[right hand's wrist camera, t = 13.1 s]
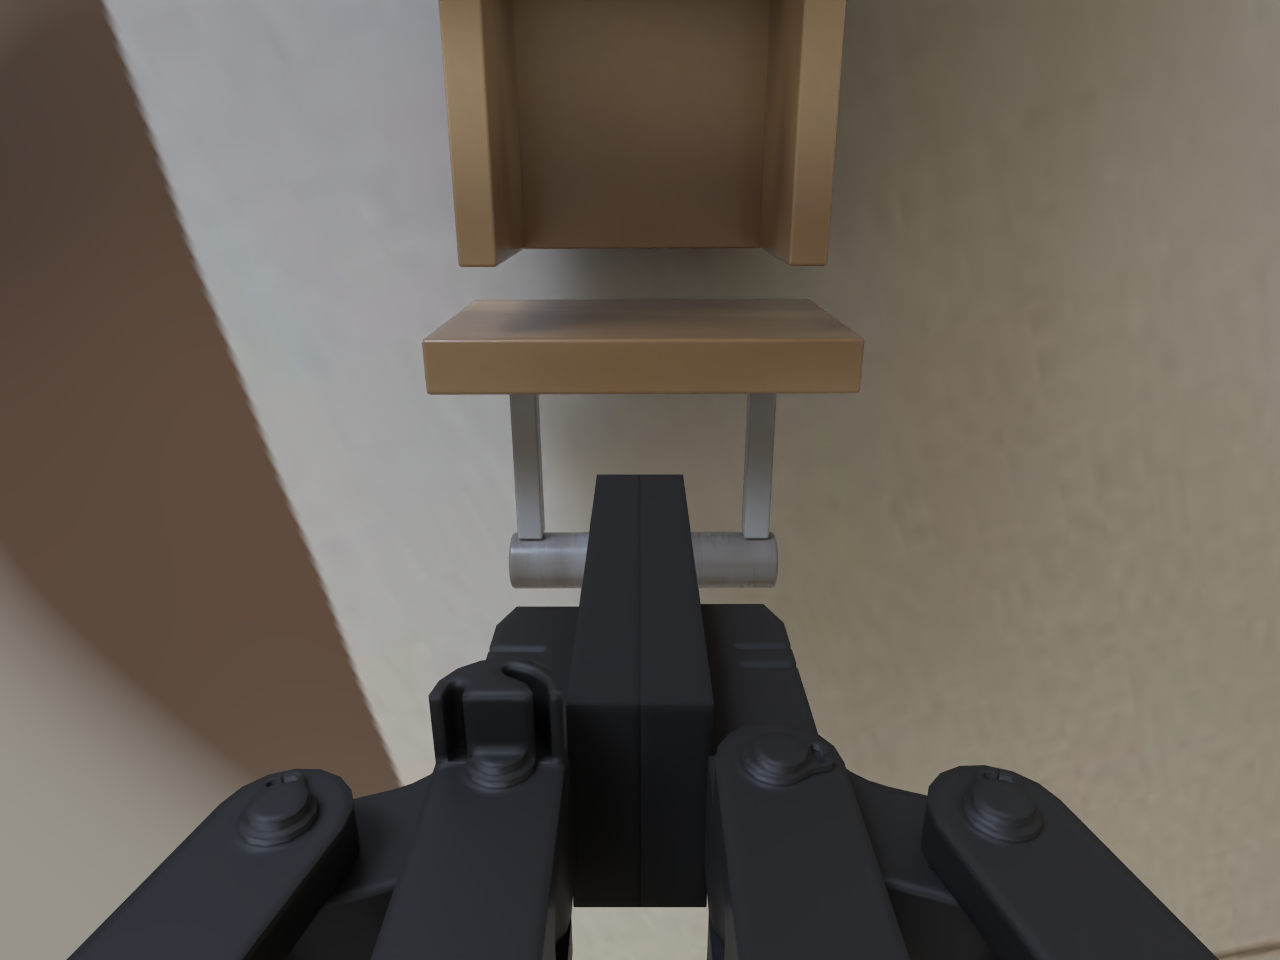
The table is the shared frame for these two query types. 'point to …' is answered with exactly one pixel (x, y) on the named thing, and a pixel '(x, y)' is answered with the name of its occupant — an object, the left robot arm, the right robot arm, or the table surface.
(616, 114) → the drawer
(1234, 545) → the table surface
